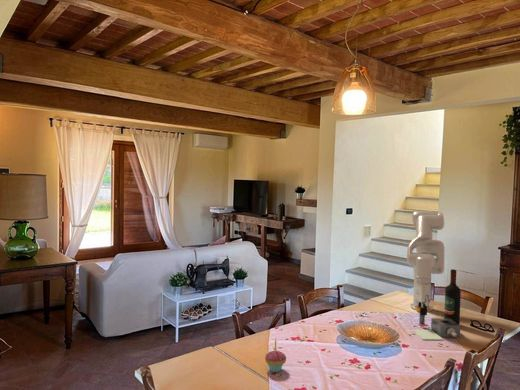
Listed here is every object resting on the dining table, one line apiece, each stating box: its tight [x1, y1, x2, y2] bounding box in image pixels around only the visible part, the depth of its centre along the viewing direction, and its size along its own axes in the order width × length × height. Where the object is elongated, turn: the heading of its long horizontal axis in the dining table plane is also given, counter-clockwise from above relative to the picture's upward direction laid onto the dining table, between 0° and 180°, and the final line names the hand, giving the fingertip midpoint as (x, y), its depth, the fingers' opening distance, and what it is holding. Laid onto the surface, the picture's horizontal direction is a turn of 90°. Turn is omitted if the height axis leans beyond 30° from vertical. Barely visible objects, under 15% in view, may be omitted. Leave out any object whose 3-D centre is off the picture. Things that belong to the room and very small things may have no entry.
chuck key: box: [414, 306, 431, 326], centre depth 204 cm, size 3×7×9 cm, turn 90°
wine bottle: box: [443, 269, 462, 326], centre depth 209 cm, size 8×8×30 cm
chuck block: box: [430, 317, 461, 338], centre depth 194 cm, size 15×10×6 cm
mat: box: [412, 329, 444, 341], centre depth 193 cm, size 12×10×1 cm
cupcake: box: [264, 337, 287, 373], centre depth 154 cm, size 9×8×12 cm
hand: (422, 313), depth 204 cm, fingers closed on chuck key, 2 cm apart
